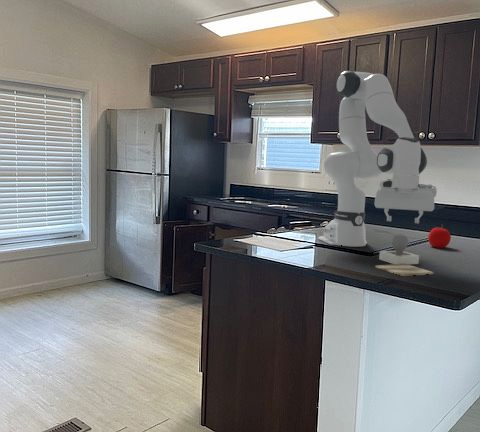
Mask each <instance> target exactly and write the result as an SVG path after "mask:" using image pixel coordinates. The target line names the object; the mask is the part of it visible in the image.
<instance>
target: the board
mask: <svg viewBox="0 0 480 432" xmlns="http://www.w3.org/2000/svg"><path fill="white" fill-rule="evenodd" d="M374 268H376V269H379V270H382V271H386V272H388V273H390V274H393V273H394V275H396V274H397V276H399V275H400V277H402V276H403V277H414V276H413V275H416V276H425V275H426V274H429V275H434V273H435V272H434V271H430V270H427V269H425V268H420V267H417V266H414V265H412V264H392V263H390V264H378V265H375V267H374ZM426 276H427V275H426Z"/></svg>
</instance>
